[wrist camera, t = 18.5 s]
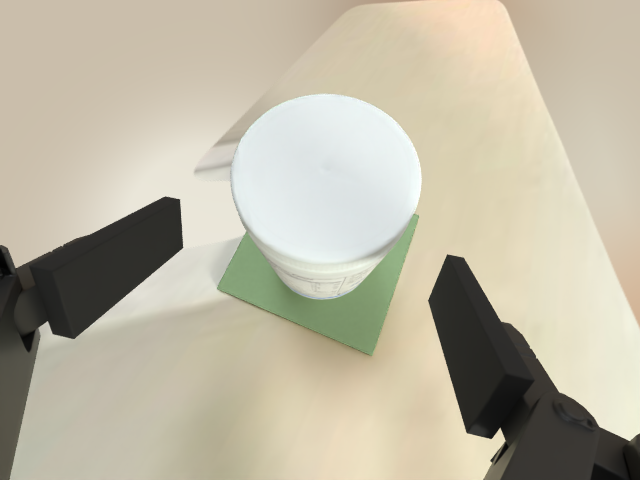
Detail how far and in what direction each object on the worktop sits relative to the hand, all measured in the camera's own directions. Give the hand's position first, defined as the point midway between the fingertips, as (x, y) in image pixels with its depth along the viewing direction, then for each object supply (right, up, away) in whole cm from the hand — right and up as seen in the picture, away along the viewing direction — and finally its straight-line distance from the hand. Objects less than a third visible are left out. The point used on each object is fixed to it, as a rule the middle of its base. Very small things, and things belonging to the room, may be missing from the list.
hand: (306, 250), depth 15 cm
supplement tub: (+1, -1, +14) cm, 14 cm away
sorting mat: (+1, -1, +14) cm, 14 cm away
